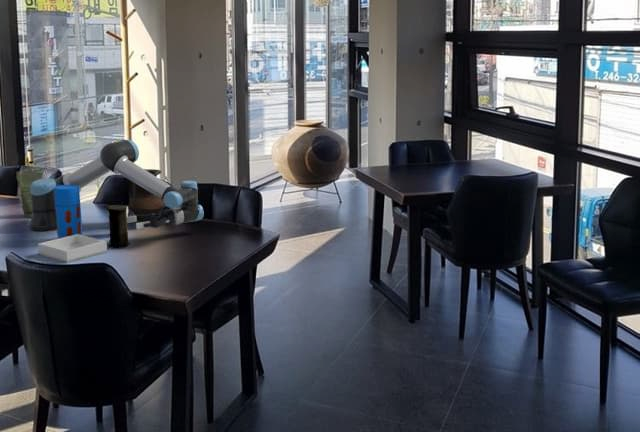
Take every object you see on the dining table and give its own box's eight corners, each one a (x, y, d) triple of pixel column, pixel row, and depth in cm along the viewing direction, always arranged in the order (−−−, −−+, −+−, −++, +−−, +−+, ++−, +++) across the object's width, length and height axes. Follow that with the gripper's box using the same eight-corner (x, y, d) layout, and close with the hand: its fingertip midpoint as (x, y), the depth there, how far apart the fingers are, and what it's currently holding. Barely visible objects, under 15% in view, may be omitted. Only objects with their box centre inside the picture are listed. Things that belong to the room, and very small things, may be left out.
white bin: (39, 254, 318) (38, 243, 317) (78, 244, 333) (77, 234, 332) (67, 263, 306) (66, 251, 305) (106, 252, 322) (106, 241, 321)
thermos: (87, 238, 345) (83, 185, 339) (73, 243, 335) (68, 189, 329) (68, 236, 348) (64, 183, 342) (53, 241, 338) (48, 188, 333)
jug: (175, 222, 374) (172, 164, 367) (148, 230, 359) (145, 169, 352) (145, 217, 385) (142, 160, 378) (118, 224, 370) (114, 165, 363)
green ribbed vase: (18, 218, 383) (13, 170, 377) (30, 212, 394) (26, 166, 389) (38, 218, 381) (33, 171, 375) (50, 213, 393) (46, 167, 387)
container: (120, 242, 338) (118, 203, 334) (133, 245, 333) (131, 206, 329) (104, 246, 331) (102, 207, 327) (118, 249, 326) (115, 209, 322)
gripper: (185, 229, 337) (142, 237, 324) (159, 219, 356) (118, 226, 343) (184, 213, 335) (141, 220, 322) (159, 204, 354) (117, 210, 341)
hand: (129, 223), depth 332 cm, fingers open, 13 cm apart
